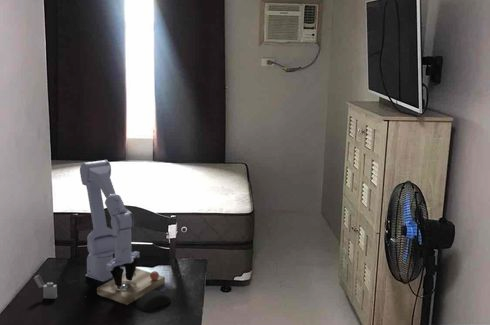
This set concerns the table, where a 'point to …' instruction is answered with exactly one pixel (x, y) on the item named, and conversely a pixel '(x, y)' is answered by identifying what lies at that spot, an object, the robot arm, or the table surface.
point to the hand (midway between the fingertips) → (123, 282)
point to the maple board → (130, 287)
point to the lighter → (47, 288)
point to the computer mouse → (152, 300)
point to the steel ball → (123, 287)
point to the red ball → (154, 275)
